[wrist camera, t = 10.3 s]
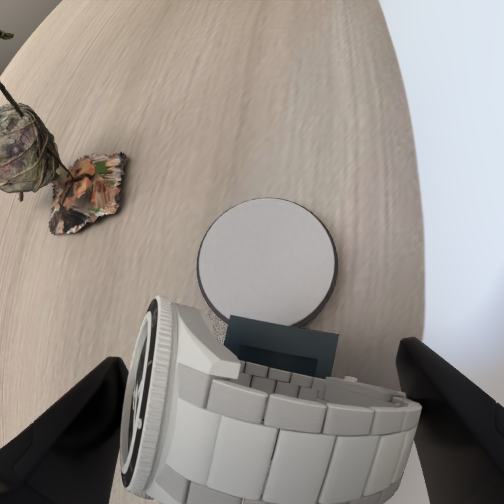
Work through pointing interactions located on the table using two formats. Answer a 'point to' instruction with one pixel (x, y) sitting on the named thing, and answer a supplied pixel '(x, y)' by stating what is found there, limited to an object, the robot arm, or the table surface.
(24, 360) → the table surface
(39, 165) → the plant with pod
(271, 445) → the watch
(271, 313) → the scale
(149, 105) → the table surface
